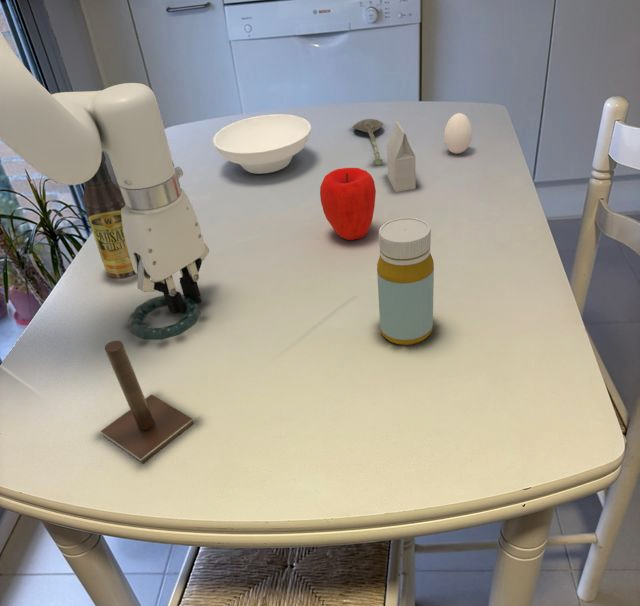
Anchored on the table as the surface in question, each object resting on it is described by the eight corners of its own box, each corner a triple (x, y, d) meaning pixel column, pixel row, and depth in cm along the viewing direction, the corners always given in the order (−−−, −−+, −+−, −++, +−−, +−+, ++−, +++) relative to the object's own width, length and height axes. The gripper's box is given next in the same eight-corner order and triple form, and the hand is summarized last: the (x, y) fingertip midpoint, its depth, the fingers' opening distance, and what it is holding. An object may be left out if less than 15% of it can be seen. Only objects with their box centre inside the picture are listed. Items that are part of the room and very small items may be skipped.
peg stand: (103, 436, 79) (62, 353, 70) (153, 400, 83) (120, 316, 74) (143, 464, 75) (105, 379, 66) (194, 424, 79) (165, 338, 70)
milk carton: (395, 192, 117) (394, 136, 110) (387, 177, 122) (385, 122, 115) (415, 189, 117) (415, 132, 110) (407, 174, 122) (406, 119, 115)
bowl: (305, 186, 123) (300, 150, 119) (208, 189, 127) (200, 154, 122) (322, 145, 137) (318, 111, 132) (234, 149, 141) (227, 116, 136)
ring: (117, 330, 95) (112, 318, 94) (170, 295, 101) (167, 284, 99) (161, 353, 90) (157, 342, 89) (215, 316, 95) (212, 304, 94)
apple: (314, 240, 108) (306, 177, 101) (347, 218, 112) (342, 156, 105) (355, 254, 103) (350, 189, 96) (388, 230, 108) (386, 166, 100)
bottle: (370, 331, 88) (363, 230, 78) (409, 310, 91) (407, 209, 80) (403, 354, 84) (401, 250, 74) (443, 332, 86) (446, 228, 76)
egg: (448, 146, 129) (449, 107, 124) (474, 148, 127) (476, 109, 122) (439, 157, 126) (440, 118, 121) (466, 159, 124) (468, 119, 119)
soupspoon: (381, 127, 142) (352, 132, 143) (380, 110, 140) (350, 116, 141) (394, 163, 126) (361, 169, 126) (393, 146, 124) (359, 152, 124)
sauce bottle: (108, 287, 105) (61, 165, 91) (108, 268, 109) (63, 149, 95) (148, 278, 105) (107, 156, 91) (147, 260, 110) (107, 140, 96)
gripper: (178, 161, 90) (208, 276, 103) (84, 209, 82) (129, 327, 95) (214, 172, 86) (241, 290, 99) (119, 223, 78) (161, 344, 91)
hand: (186, 307), depth 97 cm, fingers closed on ring, 2 cm apart
